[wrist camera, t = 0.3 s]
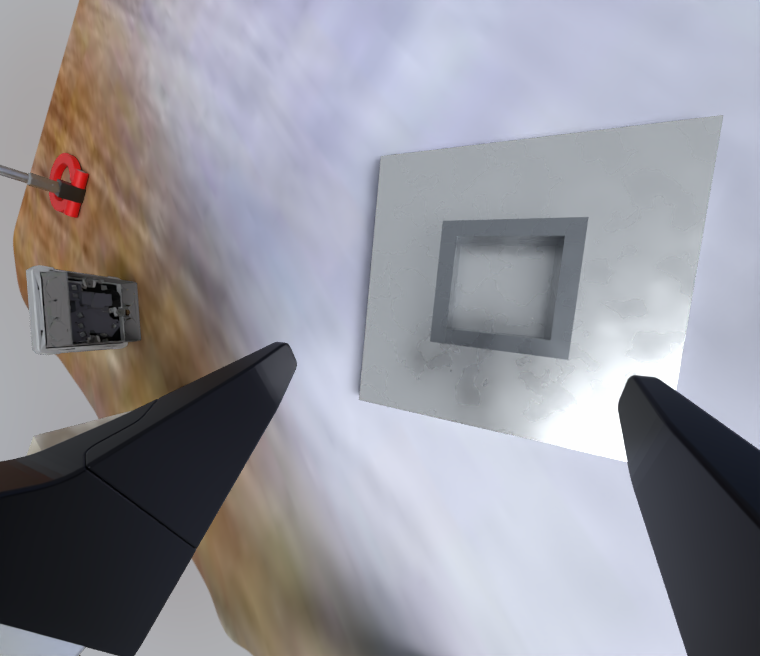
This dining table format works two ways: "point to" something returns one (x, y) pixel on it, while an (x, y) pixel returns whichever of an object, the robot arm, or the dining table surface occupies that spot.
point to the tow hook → (57, 183)
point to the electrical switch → (80, 311)
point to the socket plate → (537, 277)
